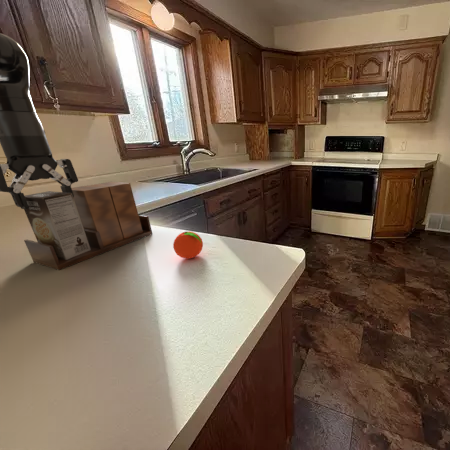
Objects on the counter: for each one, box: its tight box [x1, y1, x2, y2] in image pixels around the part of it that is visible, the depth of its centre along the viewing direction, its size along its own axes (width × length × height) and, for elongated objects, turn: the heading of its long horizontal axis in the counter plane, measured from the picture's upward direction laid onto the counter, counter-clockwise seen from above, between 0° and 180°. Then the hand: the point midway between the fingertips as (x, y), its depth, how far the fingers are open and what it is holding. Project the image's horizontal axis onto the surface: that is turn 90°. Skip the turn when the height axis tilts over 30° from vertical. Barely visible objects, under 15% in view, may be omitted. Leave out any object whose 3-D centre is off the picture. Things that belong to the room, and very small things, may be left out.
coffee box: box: [23, 190, 91, 260], centre depth 63 cm, size 9×6×16 cm
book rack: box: [23, 181, 153, 271], centre depth 69 cm, size 25×12×17 cm, turn 157°
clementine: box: [172, 230, 204, 259], centre depth 62 cm, size 8×7×7 cm
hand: (48, 204), depth 61 cm, fingers open, 8 cm apart
